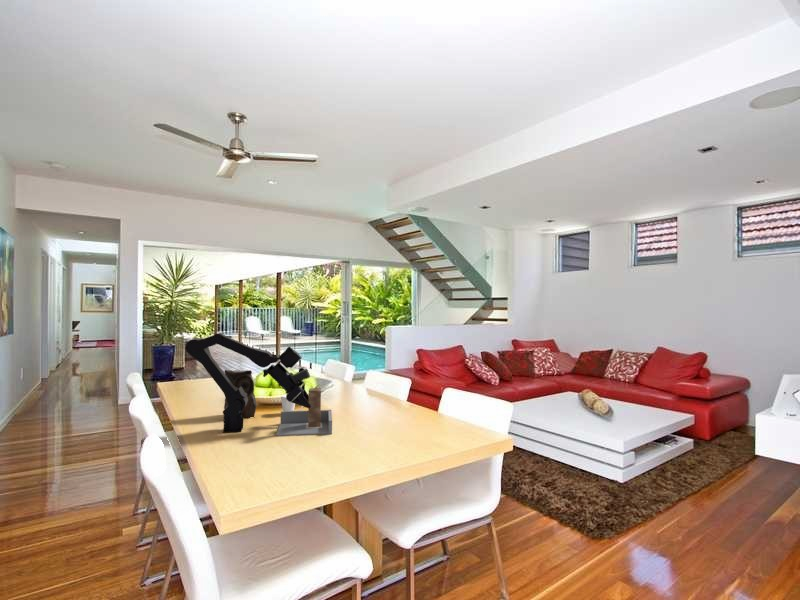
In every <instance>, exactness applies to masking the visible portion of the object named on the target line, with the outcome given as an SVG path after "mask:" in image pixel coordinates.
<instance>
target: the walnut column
mask: <svg viewBox="0 0 800 600" xmlns="http://www.w3.org/2000/svg"><path fill="white" fill-rule="evenodd" d="M308 396H309V404H310V405H311V407H310V408H307V409H308V427H320V418H321V410H322V408H321V406H322V405H321V404H322V403H321V402H322V388H320V387H319V388H314V387H313V388H308Z"/></svg>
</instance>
